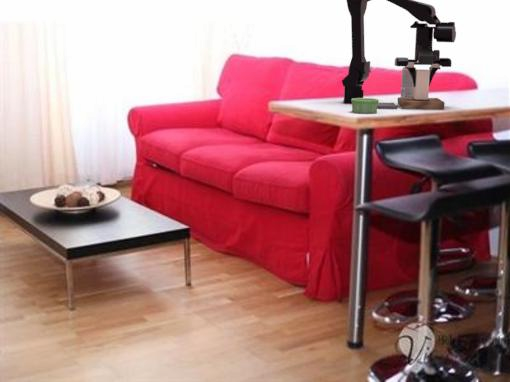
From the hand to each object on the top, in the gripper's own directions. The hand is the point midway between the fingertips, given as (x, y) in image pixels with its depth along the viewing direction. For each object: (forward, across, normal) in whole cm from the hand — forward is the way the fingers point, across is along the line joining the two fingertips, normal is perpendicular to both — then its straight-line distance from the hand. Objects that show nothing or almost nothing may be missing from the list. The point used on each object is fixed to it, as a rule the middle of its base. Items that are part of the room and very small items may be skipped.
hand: (421, 87), depth 267 cm
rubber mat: (+7, -14, -2) cm, 16 cm away
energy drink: (+7, -1, +24) cm, 25 cm away
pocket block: (+7, 0, 0) cm, 7 cm away
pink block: (+4, 0, 0) cm, 4 cm away
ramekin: (+7, -21, -17) cm, 28 cm away
